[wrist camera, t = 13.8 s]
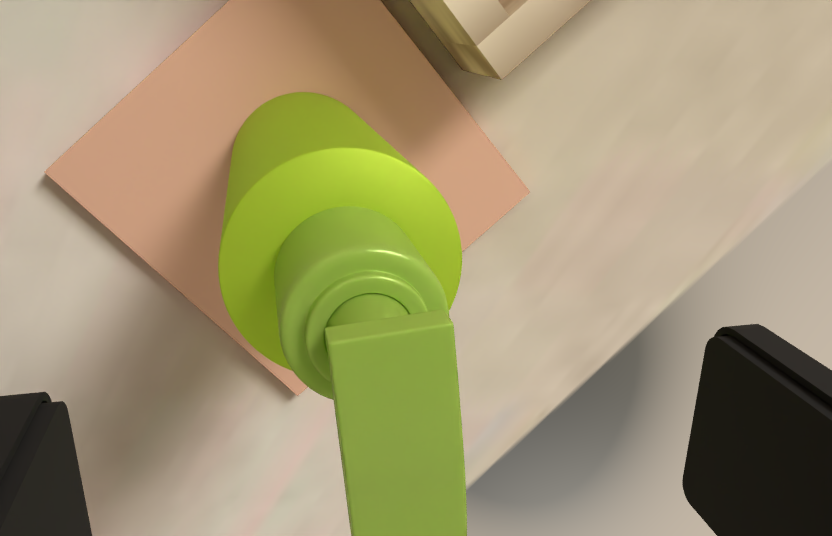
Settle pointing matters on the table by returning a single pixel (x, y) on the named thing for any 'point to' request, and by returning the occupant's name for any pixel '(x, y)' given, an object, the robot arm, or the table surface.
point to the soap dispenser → (353, 301)
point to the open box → (495, 29)
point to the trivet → (236, 100)
